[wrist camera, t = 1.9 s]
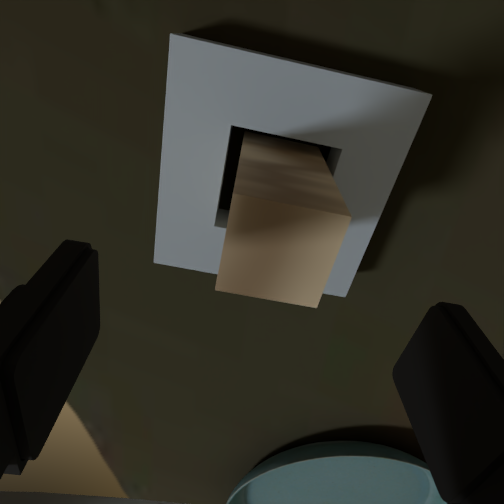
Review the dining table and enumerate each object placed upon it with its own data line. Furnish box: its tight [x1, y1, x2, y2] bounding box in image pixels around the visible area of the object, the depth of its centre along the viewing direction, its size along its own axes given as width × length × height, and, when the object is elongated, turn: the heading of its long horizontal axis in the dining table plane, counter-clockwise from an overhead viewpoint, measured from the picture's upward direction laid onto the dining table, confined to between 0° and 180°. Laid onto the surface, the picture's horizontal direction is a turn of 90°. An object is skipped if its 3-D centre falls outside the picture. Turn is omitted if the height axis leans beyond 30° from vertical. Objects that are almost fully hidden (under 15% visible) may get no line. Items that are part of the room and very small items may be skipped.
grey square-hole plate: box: [154, 33, 432, 297], centre depth 20 cm, size 12×12×2 cm
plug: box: [215, 131, 352, 308], centre depth 17 cm, size 4×4×9 cm
